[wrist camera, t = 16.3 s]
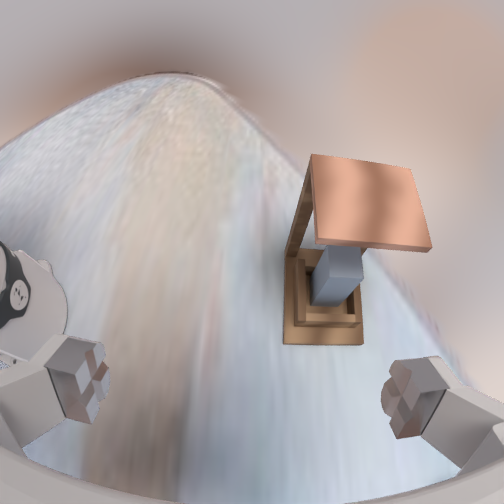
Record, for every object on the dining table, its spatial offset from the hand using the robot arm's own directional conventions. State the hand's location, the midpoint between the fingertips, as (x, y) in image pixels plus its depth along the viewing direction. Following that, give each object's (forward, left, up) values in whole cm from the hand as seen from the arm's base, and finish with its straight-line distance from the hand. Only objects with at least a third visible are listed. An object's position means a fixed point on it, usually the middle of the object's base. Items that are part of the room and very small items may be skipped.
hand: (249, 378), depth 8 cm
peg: (+11, +15, -32) cm, 37 cm away
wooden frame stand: (+11, +14, -33) cm, 37 cm away
